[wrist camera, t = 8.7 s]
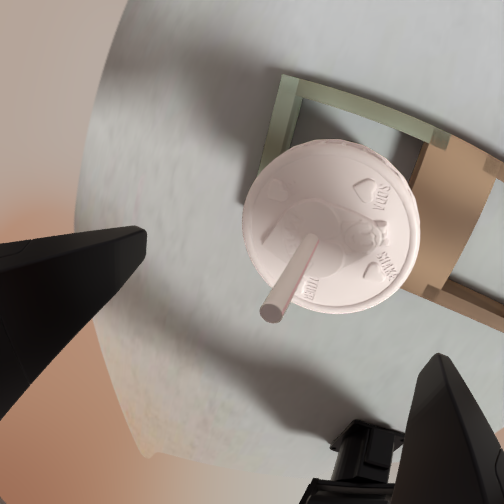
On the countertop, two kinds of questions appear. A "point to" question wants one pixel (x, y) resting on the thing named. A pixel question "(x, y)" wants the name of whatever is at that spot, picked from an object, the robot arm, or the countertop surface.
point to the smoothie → (330, 228)
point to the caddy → (415, 191)
